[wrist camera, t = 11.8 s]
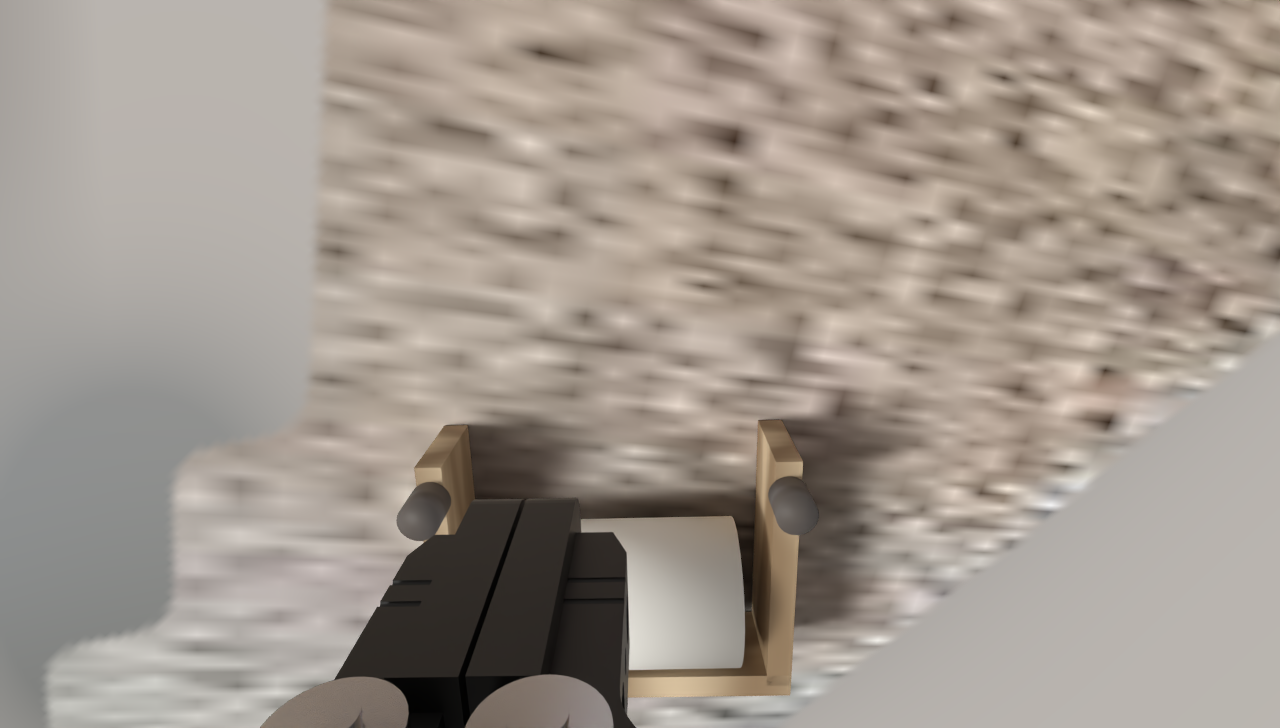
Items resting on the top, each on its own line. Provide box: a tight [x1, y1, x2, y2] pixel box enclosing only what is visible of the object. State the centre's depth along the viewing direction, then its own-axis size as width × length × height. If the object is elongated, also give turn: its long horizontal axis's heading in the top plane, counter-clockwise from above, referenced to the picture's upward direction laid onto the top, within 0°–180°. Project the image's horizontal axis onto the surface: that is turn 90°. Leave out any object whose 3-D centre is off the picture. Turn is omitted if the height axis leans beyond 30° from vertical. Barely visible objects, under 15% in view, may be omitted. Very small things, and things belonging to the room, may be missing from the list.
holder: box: [397, 420, 819, 697], centre depth 34 cm, size 18×13×7 cm
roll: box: [581, 516, 745, 670], centre depth 35 cm, size 12×7×7 cm
